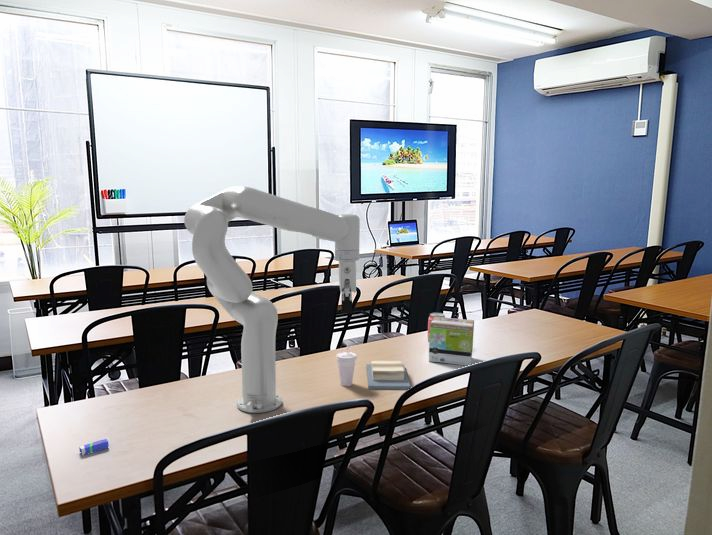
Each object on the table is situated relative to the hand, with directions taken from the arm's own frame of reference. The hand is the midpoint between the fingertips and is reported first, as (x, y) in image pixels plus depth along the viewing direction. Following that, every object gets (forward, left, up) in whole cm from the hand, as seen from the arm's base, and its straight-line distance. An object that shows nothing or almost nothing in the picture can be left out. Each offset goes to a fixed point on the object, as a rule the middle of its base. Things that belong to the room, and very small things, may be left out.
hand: (346, 309), depth 168 cm
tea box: (+24, -38, -25) cm, 51 cm away
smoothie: (0, 0, -25) cm, 25 cm away
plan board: (+6, -14, -24) cm, 28 cm away
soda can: (+44, -36, -25) cm, 62 cm away
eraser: (-43, +60, -25) cm, 78 cm away
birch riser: (+6, -14, -24) cm, 28 cm away
